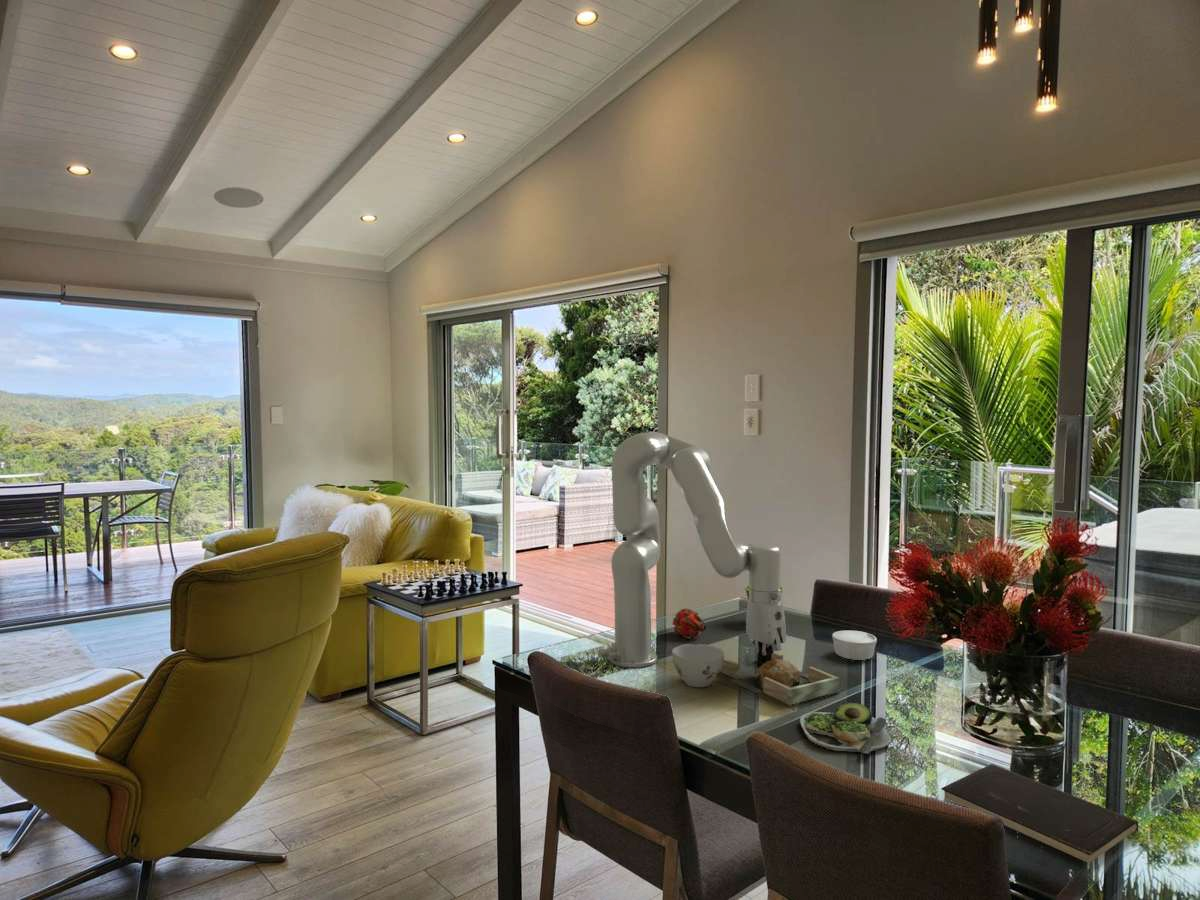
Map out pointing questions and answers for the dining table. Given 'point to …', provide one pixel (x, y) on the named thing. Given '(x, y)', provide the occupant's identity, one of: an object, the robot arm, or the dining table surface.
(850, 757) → the dining table surface
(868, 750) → the avocado toast plate
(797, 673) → the bread roll
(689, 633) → the dragon fruit
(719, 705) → the dining table surface
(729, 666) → the beige shallow tray
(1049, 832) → the hardcover book
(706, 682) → the teacup
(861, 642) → the ramekin
